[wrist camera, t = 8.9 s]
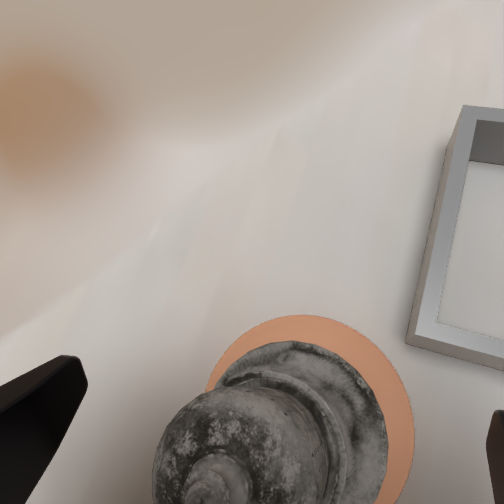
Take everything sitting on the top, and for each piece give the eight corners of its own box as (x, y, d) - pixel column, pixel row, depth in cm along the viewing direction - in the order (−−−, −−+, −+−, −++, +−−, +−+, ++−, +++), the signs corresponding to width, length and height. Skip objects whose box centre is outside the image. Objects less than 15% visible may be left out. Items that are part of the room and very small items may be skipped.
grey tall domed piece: (329, 324, 17) (288, 203, 6) (413, 466, 15) (594, 692, 4) (208, 392, 17) (-45, 395, 6) (272, 542, 15) (53, 959, 4)
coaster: (384, 577, 15) (386, 590, 14) (182, 485, 17) (172, 491, 16) (430, 350, 17) (434, 347, 16) (242, 298, 19) (237, 293, 18)
